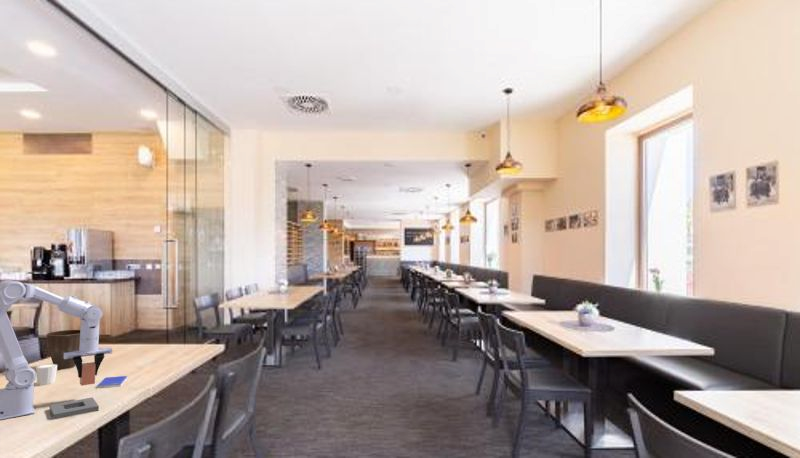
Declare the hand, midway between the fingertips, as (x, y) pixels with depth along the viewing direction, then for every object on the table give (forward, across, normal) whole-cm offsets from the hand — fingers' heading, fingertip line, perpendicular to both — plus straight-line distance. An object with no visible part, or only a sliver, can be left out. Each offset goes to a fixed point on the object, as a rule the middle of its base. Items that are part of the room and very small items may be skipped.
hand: (87, 376), depth 162 cm
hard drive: (+9, +11, +17) cm, 22 cm away
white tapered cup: (+8, -9, +34) cm, 36 cm away
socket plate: (+8, -5, -11) cm, 15 cm away
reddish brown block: (+3, 0, 0) cm, 3 cm away
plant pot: (+8, 0, +60) cm, 61 cm away
